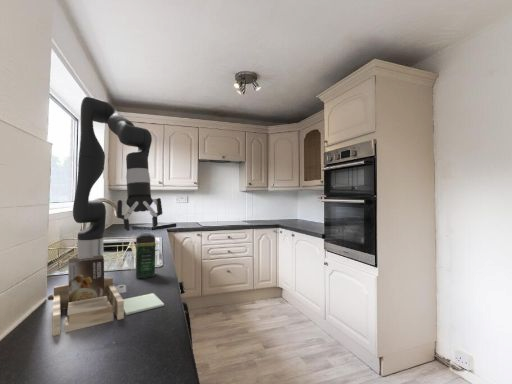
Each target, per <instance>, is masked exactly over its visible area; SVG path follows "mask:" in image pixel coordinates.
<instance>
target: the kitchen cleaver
mask: <svg viewBox="0 0 512 384" xmlns="http://www.w3.org/2000/svg"><path fill="white" fill-rule="evenodd" d="M114 286H115V288H116V290H117V291H118V293H119V294H122V293H126V292H127V286H126V284H119V285H114ZM47 299H48V300H49V301H50V300H54V294H51V295H49V296H48V297H47Z"/></svg>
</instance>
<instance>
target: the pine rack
mask: <svg viewBox="0 0 512 384" xmlns="http://www.w3.org/2000/svg"><path fill="white" fill-rule="evenodd" d="M115 286H116V285H114V277H113V276H110V277H104V296H107V302H110V304H111V305H112V306H113V314H114V316H115V318H116V319H117V320H118V321H119V320H123V319H124V318H125V316H124V315H125V312H124V300H123V297H122V296H121V293H118V291H117V290H116V288H115ZM53 295H54V299H53V303H52V305H53V307H52V337H55V336H60V335H61V311H62V310H66V309H68V304H69V284H68V283H67V284H62V285H61V284H60V285H56V286H53Z"/></svg>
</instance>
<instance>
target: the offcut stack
mask: <svg viewBox="0 0 512 384" xmlns="http://www.w3.org/2000/svg"><path fill="white" fill-rule="evenodd" d="M66 312H67V314H66V315H67V317H64V333H67V332H71V331H77V330H79V329H80V330H81V329H84V328H88V327H92V326H97V325H100V324H104V323H105V324H106V323H108V322H114V311H113V306H112V305H111V304H110V302H109V301H108V300H107V296H103V297H98V298H92V299H86V300H80V301H75V302H69V304H68V308H67V311H66Z"/></svg>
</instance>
